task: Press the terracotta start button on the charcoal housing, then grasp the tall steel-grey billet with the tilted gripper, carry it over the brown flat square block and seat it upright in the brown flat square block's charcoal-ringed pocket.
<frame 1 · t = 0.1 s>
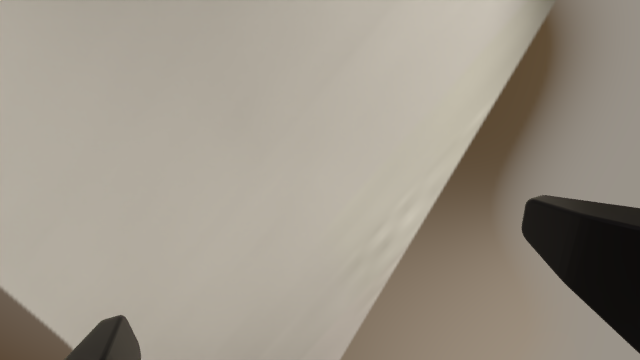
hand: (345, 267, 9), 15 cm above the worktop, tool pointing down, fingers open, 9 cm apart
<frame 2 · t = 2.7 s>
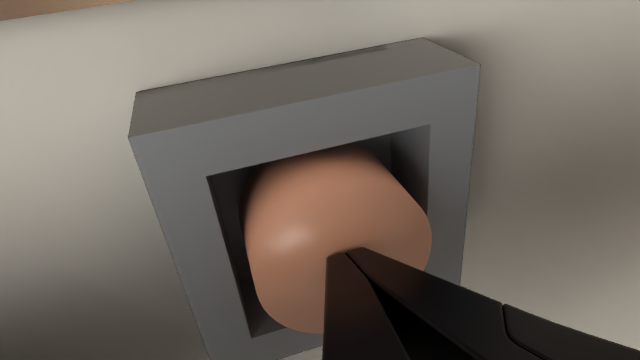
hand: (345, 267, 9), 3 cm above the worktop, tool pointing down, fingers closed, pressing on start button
button housing: (305, 186, 12), on the worktop
start button: (330, 233, 10), point 2 cm above the worktop, slide at 0.6 cm, touching gripper
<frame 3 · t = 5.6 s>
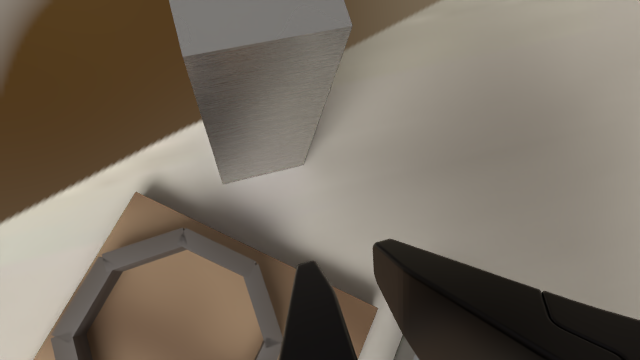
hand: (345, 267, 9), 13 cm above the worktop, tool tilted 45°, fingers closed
billet: (253, 136, 24), on the worktop
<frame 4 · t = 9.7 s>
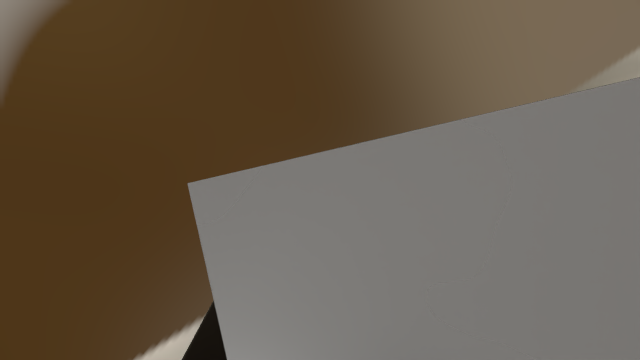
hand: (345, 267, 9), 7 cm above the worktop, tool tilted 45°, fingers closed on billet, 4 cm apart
billet: (321, 318, 16), on the worktop, touching gripper
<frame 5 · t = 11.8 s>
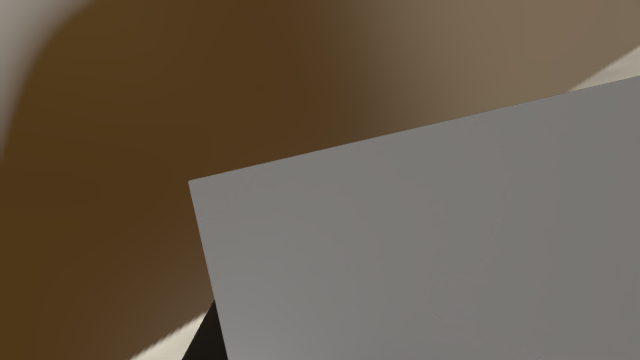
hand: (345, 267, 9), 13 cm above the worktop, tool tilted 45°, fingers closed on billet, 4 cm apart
billet: (321, 318, 16), point 7 cm above the worktop, touching gripper
when the fingers open (9 cm above the worktop, at t = 14.2 s): billet stays where it is, resting on brown flat square block.
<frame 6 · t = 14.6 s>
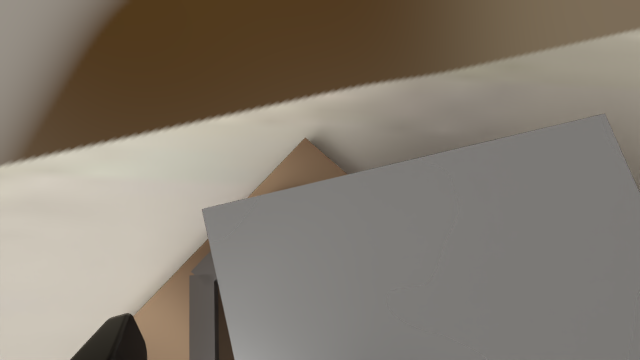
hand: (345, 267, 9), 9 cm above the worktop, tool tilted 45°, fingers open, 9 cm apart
billet: (317, 317, 16), point 1 cm above the worktop, touching brown flat square block
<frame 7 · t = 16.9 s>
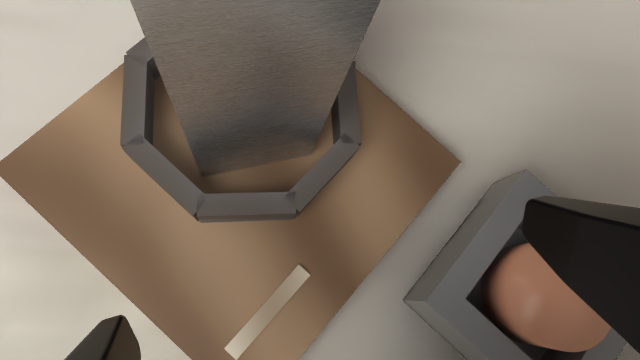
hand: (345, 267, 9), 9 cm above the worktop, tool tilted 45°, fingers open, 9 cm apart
button housing: (510, 293, 19), on the worktop
start button: (544, 293, 17), point 2 cm above the worktop, slide at 0.5 cm
billet: (245, 115, 18), point 1 cm above the worktop, touching brown flat square block
brown flat square block: (246, 172, 19), on the worktop
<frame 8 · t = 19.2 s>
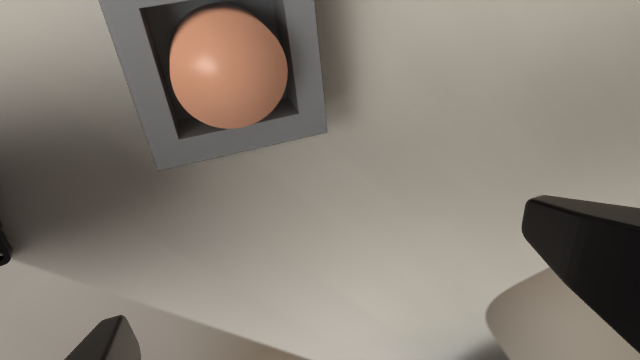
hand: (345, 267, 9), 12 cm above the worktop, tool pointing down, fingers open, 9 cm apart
button housing: (220, 50, 18), on the worktop
start button: (227, 65, 16), point 2 cm above the worktop, slide at 0.5 cm
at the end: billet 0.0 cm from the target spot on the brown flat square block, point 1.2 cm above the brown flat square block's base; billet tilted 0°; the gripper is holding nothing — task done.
